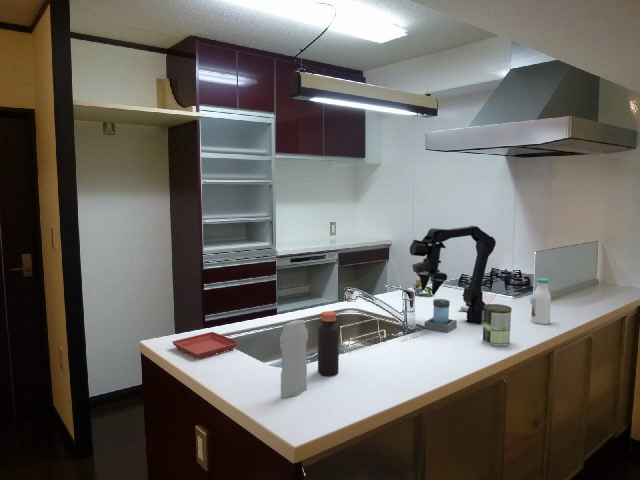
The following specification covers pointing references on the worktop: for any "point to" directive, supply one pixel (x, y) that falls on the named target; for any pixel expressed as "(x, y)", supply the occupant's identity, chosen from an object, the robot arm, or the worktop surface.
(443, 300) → the blue-grey upright cylinder
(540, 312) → the milk bottle
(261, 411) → the worktop surface
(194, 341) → the plant saucer
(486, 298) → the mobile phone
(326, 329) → the vinegar
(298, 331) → the tall pale column
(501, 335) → the coffee can
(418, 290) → the passion flower
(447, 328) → the cartridge housing
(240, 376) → the worktop surface
